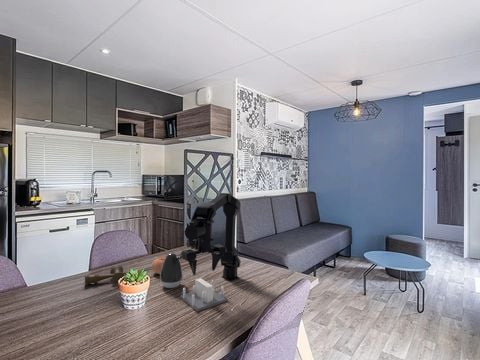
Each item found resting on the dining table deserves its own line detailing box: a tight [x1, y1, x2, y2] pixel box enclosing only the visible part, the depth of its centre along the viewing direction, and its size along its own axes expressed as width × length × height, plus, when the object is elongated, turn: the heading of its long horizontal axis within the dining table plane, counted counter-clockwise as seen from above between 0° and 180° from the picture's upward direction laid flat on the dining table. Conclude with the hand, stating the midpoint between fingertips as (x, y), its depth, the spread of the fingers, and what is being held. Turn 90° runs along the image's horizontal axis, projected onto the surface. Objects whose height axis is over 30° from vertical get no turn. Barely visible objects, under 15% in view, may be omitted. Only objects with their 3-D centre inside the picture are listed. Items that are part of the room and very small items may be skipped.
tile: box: [194, 277, 213, 303], centre depth 110 cm, size 2×10×6 cm, turn 39°
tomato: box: [151, 256, 166, 275], centre depth 138 cm, size 11×11×8 cm
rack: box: [180, 279, 228, 312], centre depth 110 cm, size 15×14×5 cm
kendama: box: [84, 265, 128, 287], centre depth 126 cm, size 6×10×20 cm
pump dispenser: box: [159, 252, 184, 289], centre depth 122 cm, size 10×10×15 cm
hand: (203, 272), depth 110 cm, fingers open, 9 cm apart
